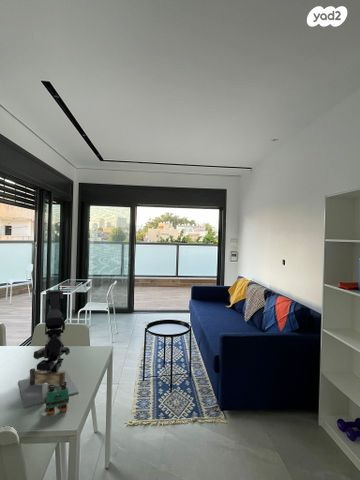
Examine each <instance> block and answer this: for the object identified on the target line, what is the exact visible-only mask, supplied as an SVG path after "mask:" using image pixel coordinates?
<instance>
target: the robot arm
mask: <svg viewBox="0 0 360 480" xmlns="http://www.w3.org/2000/svg"><path fill="white" fill-rule="evenodd" d="M63 298H64V290H61V289H50V290H48V291H46V292H45V300H47V305H48V306H49V308H50V309H49V312H48V313H47V316H46V318H45V320H44V321H45V325H44V335H45V336H47V339H46V343H45V344H44V347H43V348H40V349H38V350H34V352H33V356H32V357H33V358H34V359H35V360H39V359H42V358H43V359H42V360H41V361H39V363H37V364H36V371H45V372H59V369H60V368H61V366H62V363H63V361H64V358H63V357H61V356H63V355H64V354H65V356H68V355H69V354H71V353H70V352H71V351H70V348H69V347H67V346H65V344H63V342H62V334H63V333H64V331H65V330H66V320H65V319H64V317H63V314H62V312H61V310H60V305H61V303H62V302H63V301H62V299H63Z"/></svg>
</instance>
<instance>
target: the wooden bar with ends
mask: <svg viewBox="0 0 360 480" xmlns="http://www.w3.org/2000/svg"><path fill="white" fill-rule="evenodd" d="M60 371H61V372H59V371H58V372H51V371H42V370H36V368H30V369H29V378H30V385H33V384H35V383H38V384H43V383H47V384H56V385H59V386H61V384H62V383H63V382H65V371H63V370H60Z"/></svg>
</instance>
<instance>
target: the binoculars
mask: <svg viewBox="0 0 360 480" xmlns="http://www.w3.org/2000/svg"><path fill="white" fill-rule="evenodd" d="M66 385H67V382H63V383H62V384H61V386H62V388H60V389H59V391H58V392H57V390H56V389H54V387H55V386H54V385H49V390H48V391H47V397H46V398H45V401H46V402H45V407H46V408H47V413H46V414H47V415H54V414H55V412H56V409H55V408H57V407H59V411H60V412H66V411H68V404H69V402H70V396H69V394H68V387H66Z"/></svg>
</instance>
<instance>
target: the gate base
mask: <svg viewBox="0 0 360 480" xmlns="http://www.w3.org/2000/svg"><path fill="white" fill-rule="evenodd" d="M61 371H65V382H67V385H66V387H68V394H69V397H70V396H74V395H77V394H79V391H78V389H77V386H76V385H75V383H74V382H73V380H72V378H71V377H70V375H69V373H68V371H67V370H66V369H64V370H58V372H61ZM18 385H19V391H20V395H21V396H20V397H21V398H22V399H21V400H22V404H23V408H24V409H26V408H30V407H34V406H38V405H40V404H44V403H45V404H46V401H45V398H46V397H47V391H48V390H49V385H54V386H55V387H54V389H56V390H57V392H58V391H59V389H60V388H62V386H59V385H56V384H47V383H43V384H38V383H35V384H33V385H30V377H29V378H24V379H20V380H18Z"/></svg>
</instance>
